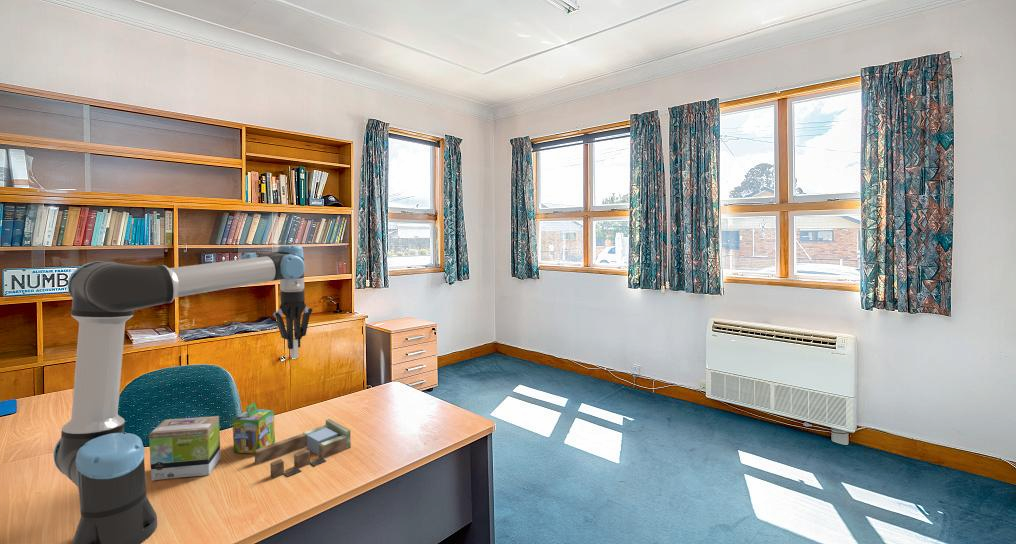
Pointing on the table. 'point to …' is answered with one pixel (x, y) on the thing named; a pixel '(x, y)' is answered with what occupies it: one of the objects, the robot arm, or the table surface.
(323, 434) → the block
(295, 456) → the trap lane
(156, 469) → the tea box
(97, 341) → the robot arm
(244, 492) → the table surface
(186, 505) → the table surface
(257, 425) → the chalk box
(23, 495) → the table surface
